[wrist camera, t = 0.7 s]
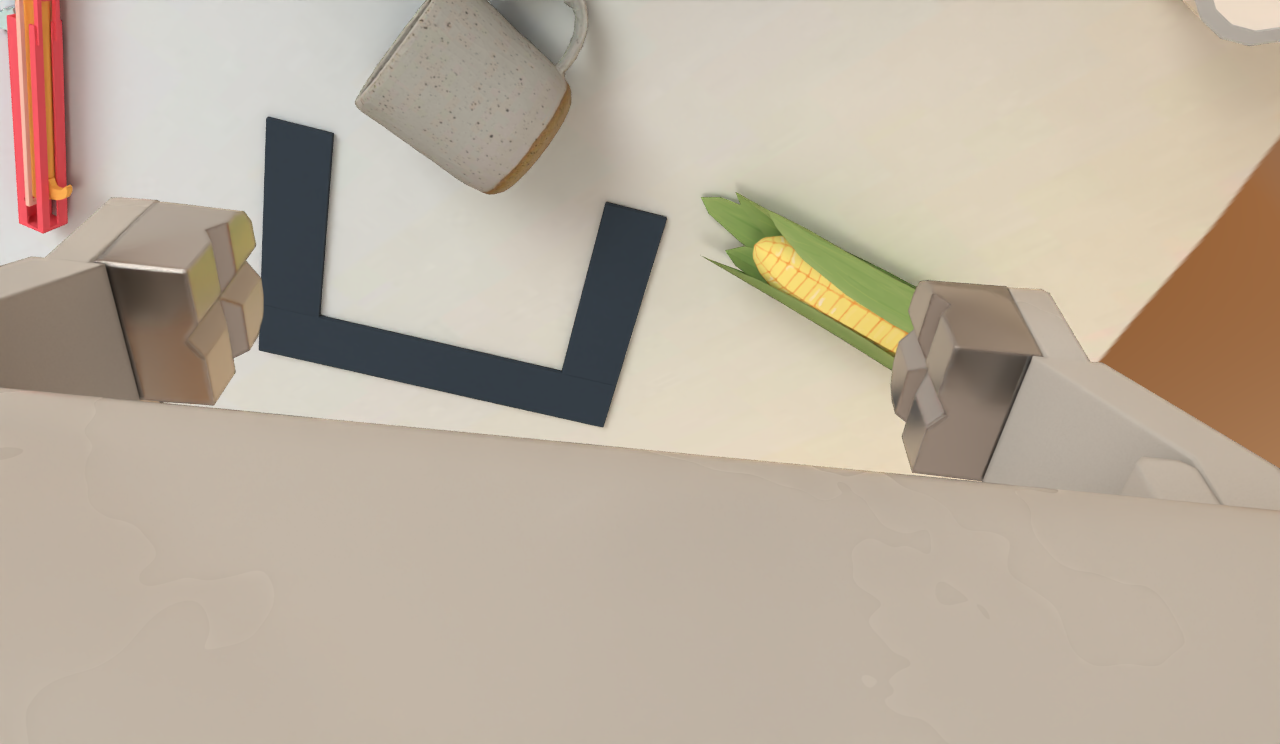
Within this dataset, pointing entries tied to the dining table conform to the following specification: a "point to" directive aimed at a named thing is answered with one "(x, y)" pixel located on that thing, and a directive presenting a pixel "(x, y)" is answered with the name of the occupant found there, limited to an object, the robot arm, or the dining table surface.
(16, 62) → the red striped bar
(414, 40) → the ceramic mug
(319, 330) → the dark grey flat piece
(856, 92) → the dining table surface
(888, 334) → the edible corn
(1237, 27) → the white faceted cylinder
